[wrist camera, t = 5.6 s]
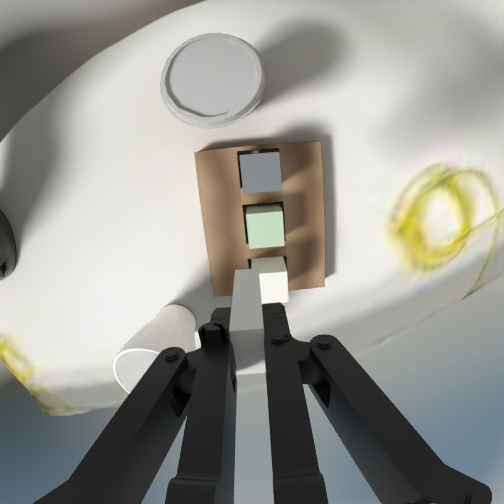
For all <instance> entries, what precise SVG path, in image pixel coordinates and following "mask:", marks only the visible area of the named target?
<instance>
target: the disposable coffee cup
mask: <svg viewBox="0 0 504 504" xmlns="http://www.w3.org/2000/svg"><path fill="white" fill-rule="evenodd" d="M266 80H267V75H266V68H265V65H264V62H263V60H262V58H261V56H260V54H259V53H258V52H257V50H256V49H255V48H254V47H253V46H251V45H250V44H249V43H247V42H246V41H244V40H242V39H240V38H237V37H235V36H231V35H228V34H222V33H208V34H203V35H199V36H196V37H193V38H191V39H189V40H187V41H185V42H184V43H182V44H181V45H180V46H179V47H178V48H176V49H175V50H174V51H173V53H172V54H171V55H170V57H169V58H168V59H167V61H166V63H165V66H164V69H163V71H162V75H161V81H160V89H161V95H162V98H163V101H164V103H165V105H166V107H167V108H168V110H169V111H170V112H171V113H172V114H173V115H174V116H175V117H176V118H177V119H179V120H180V121H182V122H184V123H186V124H188V125H191V126H194V127H198V128H209V129H211V128H219V127H225V126H227V125H230V124H233V123H235V122H237V121H239V120H241V119H243V118H244V117H246V116H247V115H248V114H249V113H250V112H251V111H252V110H253V109H254V108H255V107H256V106H257V104H258V103H259V102H260V100H261V98H262V96H263V93H264V90H265V87H266Z"/></svg>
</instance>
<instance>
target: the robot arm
mask: <svg viewBox="0 0 504 504" xmlns="http://www.w3.org/2000/svg"><path fill="white" fill-rule="evenodd" d="M15 263H16V248H15V242H14V237H13V234H12V231H11V228H10V225H9V223H8V221H7V219H6V217H5V216H4V214H3V213H2V212H1V210H0V281H1V280H3V279H5V278H6V277H8V276H9V275H10V274H11V273H12V272H13V270H14V267H15ZM198 333H199V337H200V341H201V348H199V349H197V350H195V351H191V352H187V353H185V351H184V350H183V349H182V348H179V347H169V348H166V349H164V350H162V351H161V352H160V353H159V354H158V356H157V357H156V359H155V360H154V361H153V363H152V364H151V365H150V367H149V368H148V369H147V371H146V372H145V373H144V375H143V376H142V378H141V379H140V380H139V382H138V383H137V384H136V386H135V387H134V389H133V390H132V391H131V393H130V394H129V395H128V397H127V398H126V399H125V401H124V402H123V404H122V405H121V406H120V408H119V409H118V411H117V412H116V413H115V415H114V416H113V417H112V419H111V420H110V422H109V423H108V424H107V426H106V427H105V429H104V430H103V431H102V433H101V434H100V436H99V437H98V438H97V440H96V441H95V443H94V444H93V445H92V447H91V448H90V450H89V451H88V453H87V454H86V455H85V457H84V458H83V460H82V461H81V463H80V464H79V465H78V467H77V468H76V470H75V471H74V473H73V474H72V475H71V477H70V478H69V480H67V481H66V482H64V483H63V484H61V485H60V486H59V487H57V488H56V489H54V490H53V491H51V492H50V493H48V494H46V495H45V496H44V497H42V498H40V499H39V500H37V501H36V502H34V504H141V502H142V500H143V499H144V497H145V495H146V493H147V491H148V489H149V487H150V485H151V483H152V482H153V480H154V478H155V476H156V474H157V472H158V470H159V468H160V466H161V464H162V463H163V461H164V459H165V457H166V455H167V453H168V451H169V449H170V447H171V445H172V443H173V442H174V440H175V438H176V436H177V434H178V432H179V430H180V428H181V426H182V424H183V422H184V420H185V418H186V416H187V420H186V425H185V430H184V436H183V441H182V447H181V453H180V459H179V464H178V470H177V475H176V477H174V478H172V479H171V480H170V482H169V484H168V488H167V494H166V500H165V504H234V469H235V432H236V400H237V399H236V398H237V379H236V372H237V375H238V374H254V373H266V381H267V395H268V409H269V424H270V439H271V455H272V469H273V492H274V504H328V499H327V493H326V487H325V482H324V478H323V476H322V474H321V473H320V471H319V467H318V461H317V455H316V450H315V445H314V439H313V434H312V429H311V424H310V419H309V414H308V409H307V404H306V399H305V394H304V389H303V384H308V385H309V388H310V390H311V391H312V393H313V395H314V396H315V398H316V400H317V401H318V403H319V405H320V406H321V408H322V410H323V411H324V413H325V415H326V416H327V418H328V419H329V421H330V423H331V424H332V426H333V427H334V429H335V431H336V432H337V434H338V436H339V437H340V439H341V440H342V442H343V444H344V445H345V447H346V449H347V450H348V452H349V453H350V455H351V457H352V458H353V460H354V461H355V463H356V465H357V466H358V468H359V469H360V471H361V473H362V474H363V475H364V477H365V479H366V480H367V482H368V484H369V485H370V487H371V488H372V490H373V491H374V493H375V494H376V496H377V498H378V499H379V501H380V502H381V503H382V504H490V503H491V501H492V493H491V490H490V488H489V487H488V486H486V485H485V484H483V483H481V482H479V481H477V480H475V479H473V478H471V477H469V476H466V475H464V474H463V473H461V472H459V471H457V470H455V469H453V468H451V467H449V466H447V465H445V464H444V463H443V462H442V461H441V460H440V458H439V457H438V456H437V455H436V454H435V452H434V451H433V450H432V449H431V448H430V446H429V445H428V444H427V443H426V442H425V441H424V439H423V438H422V437H421V436H420V435H419V434H418V433H417V431H416V430H415V429H414V428H413V427H412V425H411V424H410V423H409V422H408V421H407V419H406V418H405V417H404V416H403V415H402V414H401V412H400V411H399V410H398V409H397V408H396V407H395V405H394V404H393V403H392V402H391V401H390V400H389V398H388V397H387V396H386V395H385V394H384V392H383V391H382V390H381V389H380V388H379V387H378V385H377V384H376V383H375V382H374V381H373V380H372V378H371V377H370V376H369V375H368V374H367V373H366V372H365V370H364V369H363V368H362V367H361V366H360V365H359V363H357V361H356V360H355V359H354V358H353V356H352V355H351V354H350V353H349V352H348V351H347V349H346V348H345V347H344V346H343V345H342V344H341V343H340V341H339V340H338V339H337V338H335V337H334V336H331V335H324V334H323V335H318V336H316V337H313V338H312V339H311V341H310V342H302V341H298V340H296V339H294V338H293V337H292V335H291V334H290V330H289V326H288V321H287V316H286V312H285V307H284V306H283V305H282V304H281V303H280V302H277V303H266V304H262V299H261V288H260V278H259V268H253V269H242V270H235V277H234V286H233V296H232V306H231V307H227V308H216V309H215V310H214V312H213V313H212V315H211V320H210V322H209V323H206V324H204V325H202V326H201V327H200V328H199V330H198Z"/></svg>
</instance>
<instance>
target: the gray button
mask: <svg viewBox="0 0 504 504" xmlns="http://www.w3.org/2000/svg"><path fill="white" fill-rule="evenodd" d="M239 156H240V166H241V176H242V186H243V194H247V193H258V192H270V191H282V179H281V167H280V154H279V152H270V153H257V154H246V155H239Z"/></svg>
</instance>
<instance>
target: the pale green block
mask: <svg viewBox="0 0 504 504" xmlns="http://www.w3.org/2000/svg"><path fill="white" fill-rule="evenodd" d="M246 220H247V230H248V240H249V249H254V248H265V247H277V246H285V243H284V227H283V211H282V209H281V207H280V205H279V203H275V204H263V205H252V206H247V209H246Z"/></svg>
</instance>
